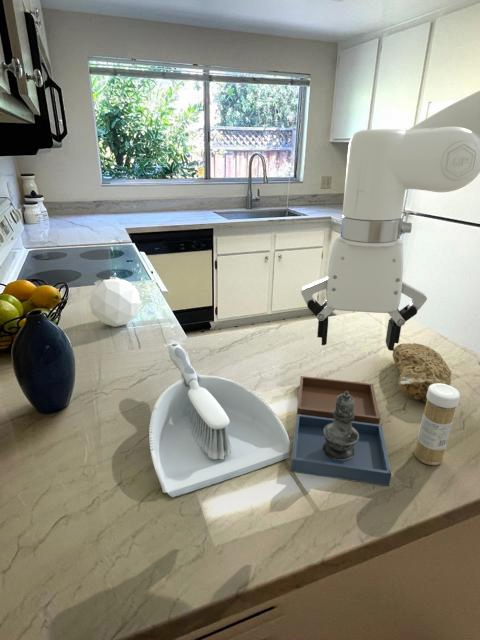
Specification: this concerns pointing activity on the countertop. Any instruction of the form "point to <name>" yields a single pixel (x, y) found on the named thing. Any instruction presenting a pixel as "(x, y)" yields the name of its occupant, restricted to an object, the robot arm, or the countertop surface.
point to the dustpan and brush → (210, 430)
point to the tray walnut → (323, 394)
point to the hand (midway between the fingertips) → (356, 344)
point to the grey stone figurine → (341, 430)
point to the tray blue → (363, 467)
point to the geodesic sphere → (114, 301)
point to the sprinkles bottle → (436, 423)
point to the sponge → (419, 369)
